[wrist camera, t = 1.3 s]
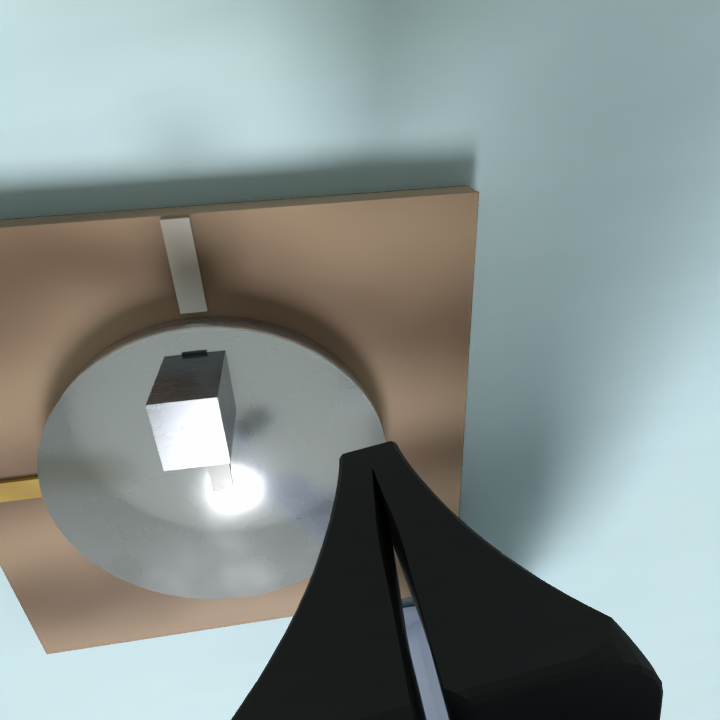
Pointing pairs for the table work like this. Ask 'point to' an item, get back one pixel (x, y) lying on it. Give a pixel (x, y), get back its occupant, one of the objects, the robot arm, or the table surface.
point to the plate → (228, 299)
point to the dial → (204, 455)
